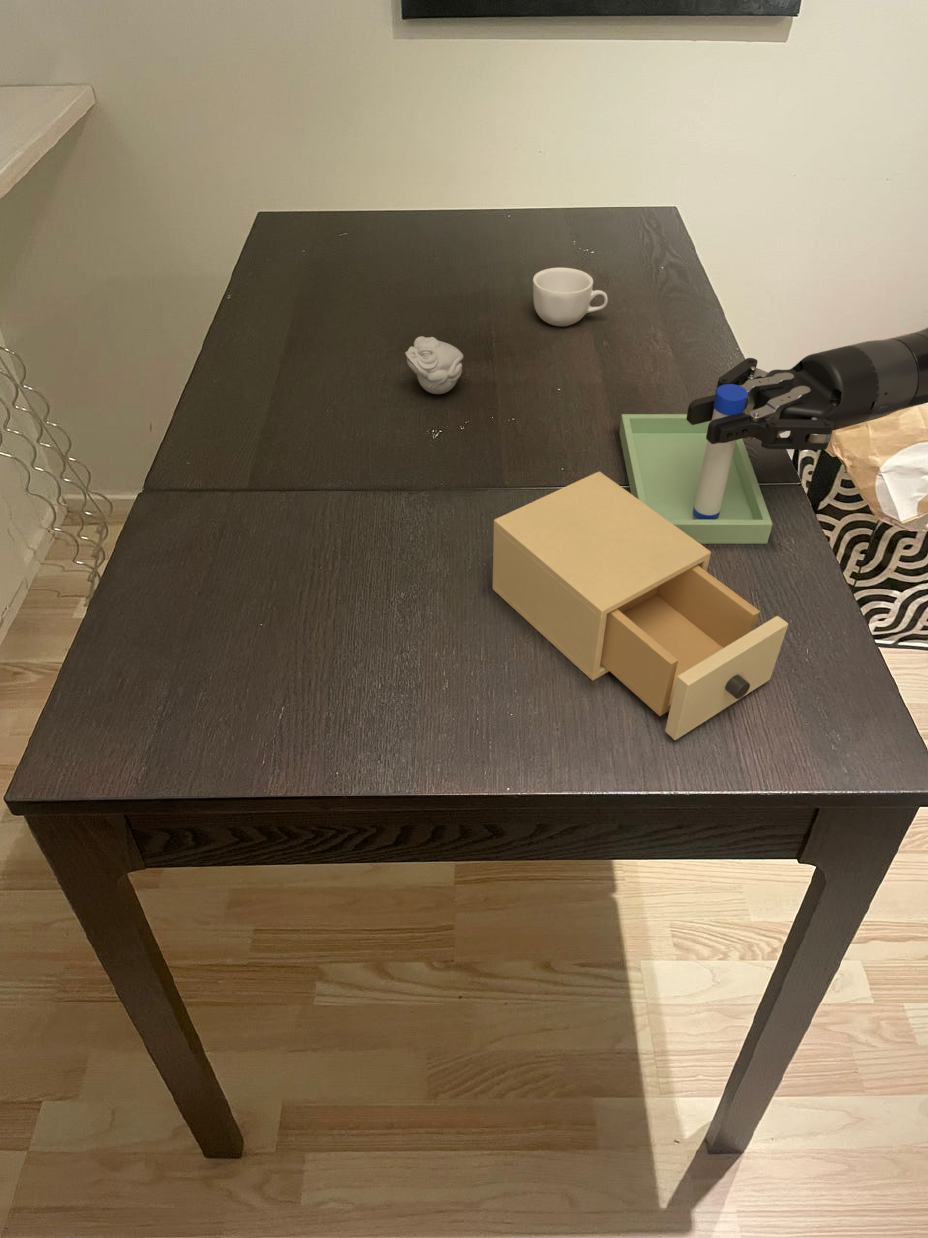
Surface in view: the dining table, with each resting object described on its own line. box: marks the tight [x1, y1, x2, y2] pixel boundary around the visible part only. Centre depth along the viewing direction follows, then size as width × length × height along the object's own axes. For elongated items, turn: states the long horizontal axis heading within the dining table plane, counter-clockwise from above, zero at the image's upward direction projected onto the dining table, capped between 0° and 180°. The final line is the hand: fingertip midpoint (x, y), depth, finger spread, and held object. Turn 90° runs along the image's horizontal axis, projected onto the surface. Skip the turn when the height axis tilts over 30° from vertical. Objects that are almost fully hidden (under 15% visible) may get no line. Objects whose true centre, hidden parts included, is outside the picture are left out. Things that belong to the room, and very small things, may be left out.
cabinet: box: [492, 471, 712, 682], centre depth 86 cm, size 14×12×8 cm
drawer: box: [600, 565, 789, 741], centre depth 80 cm, size 15×11×7 cm
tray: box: [618, 413, 773, 545], centre depth 101 cm, size 20×13×2 cm, turn 0°
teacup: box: [532, 267, 609, 327], centre depth 126 cm, size 10×8×5 cm
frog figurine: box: [404, 335, 464, 395], centre depth 113 cm, size 6×7×7 cm
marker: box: [693, 384, 748, 520], centre depth 91 cm, size 3×3×14 cm
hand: (700, 423), depth 88 cm, fingers closed on marker, 3 cm apart
